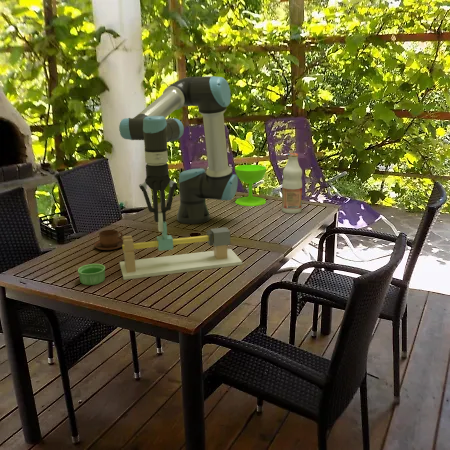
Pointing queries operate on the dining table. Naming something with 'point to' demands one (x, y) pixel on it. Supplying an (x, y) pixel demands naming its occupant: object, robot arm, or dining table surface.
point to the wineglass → (250, 183)
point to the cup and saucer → (109, 240)
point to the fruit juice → (292, 186)
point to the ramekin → (92, 274)
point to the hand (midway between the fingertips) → (160, 230)
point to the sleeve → (165, 239)
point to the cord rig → (179, 256)
